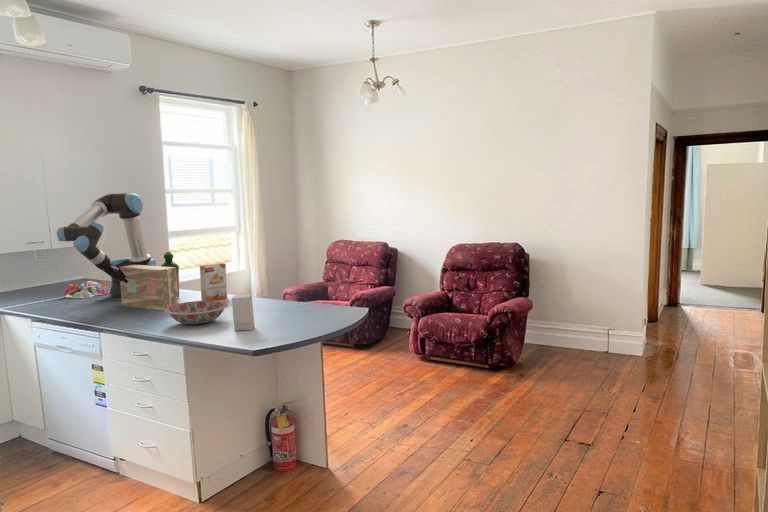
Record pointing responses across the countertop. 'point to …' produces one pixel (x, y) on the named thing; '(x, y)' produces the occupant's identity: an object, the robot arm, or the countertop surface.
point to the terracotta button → (151, 287)
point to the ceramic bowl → (196, 311)
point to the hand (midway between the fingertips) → (129, 285)
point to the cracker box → (213, 281)
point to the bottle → (171, 265)
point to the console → (164, 286)
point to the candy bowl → (87, 289)
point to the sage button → (132, 285)
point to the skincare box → (243, 312)
